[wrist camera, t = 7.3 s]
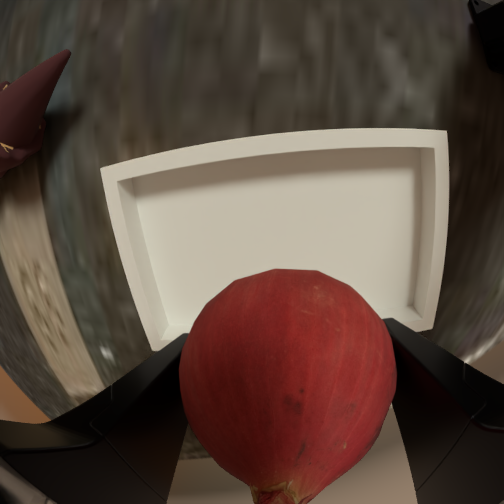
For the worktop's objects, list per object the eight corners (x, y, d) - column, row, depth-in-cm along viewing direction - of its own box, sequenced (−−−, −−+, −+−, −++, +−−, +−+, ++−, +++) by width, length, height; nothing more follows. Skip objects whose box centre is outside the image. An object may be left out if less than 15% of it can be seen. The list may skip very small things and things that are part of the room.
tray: (427, 130, 15) (446, 130, 12) (419, 310, 19) (432, 328, 17) (120, 164, 17) (100, 168, 15) (163, 331, 22) (152, 350, 19)
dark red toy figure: (30, 3, 7) (-51, 142, 12) (22, 80, 8) (-50, 218, 13) (98, 35, 14) (3, 143, 19) (113, 106, 14) (11, 210, 19)
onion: (390, 274, 10) (497, 458, 3) (313, 377, 12) (321, 546, 5) (249, 203, 10) (154, 405, 2) (191, 328, 12) (117, 505, 4)
